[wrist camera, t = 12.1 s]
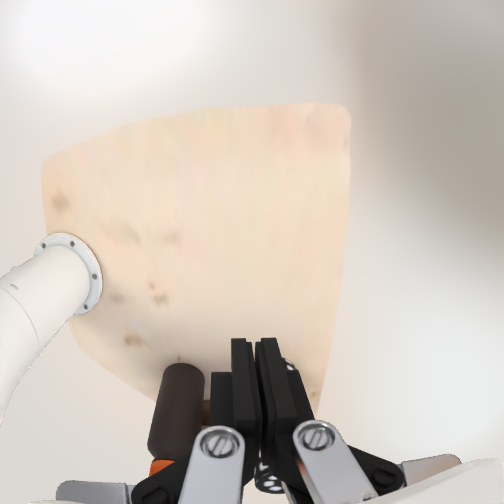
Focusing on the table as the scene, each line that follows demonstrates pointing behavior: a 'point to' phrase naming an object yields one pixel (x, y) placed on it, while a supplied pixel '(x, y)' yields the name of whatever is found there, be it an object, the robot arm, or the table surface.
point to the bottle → (176, 415)
